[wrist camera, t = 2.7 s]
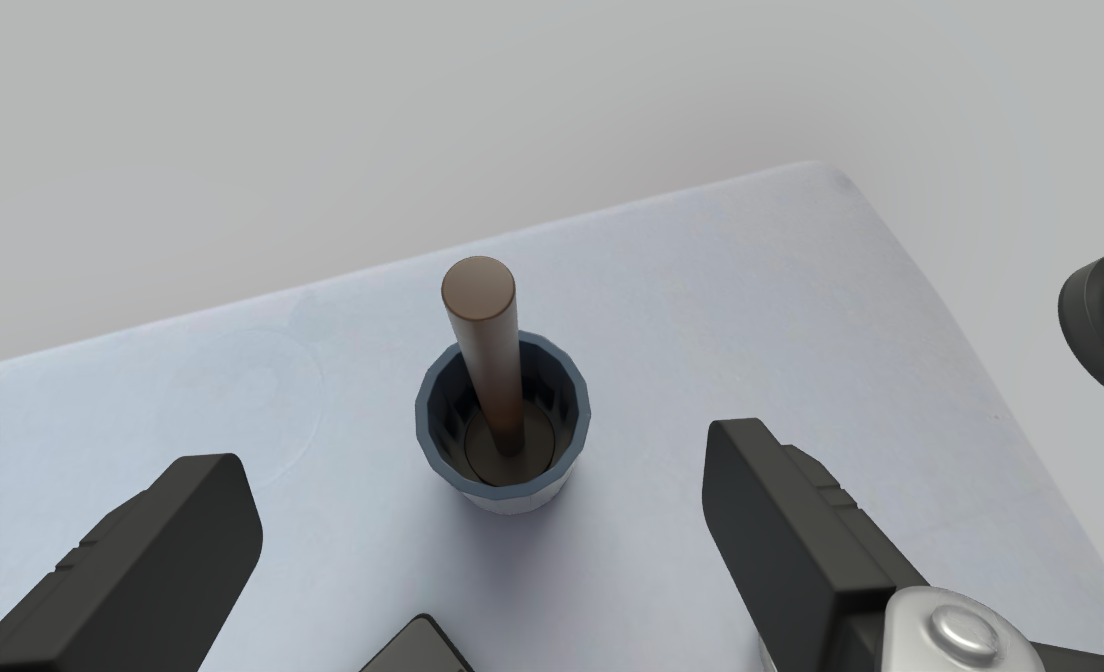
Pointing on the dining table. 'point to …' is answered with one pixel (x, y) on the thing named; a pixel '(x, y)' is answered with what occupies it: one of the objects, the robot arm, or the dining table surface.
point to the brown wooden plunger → (495, 375)
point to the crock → (455, 402)
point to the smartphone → (419, 650)
